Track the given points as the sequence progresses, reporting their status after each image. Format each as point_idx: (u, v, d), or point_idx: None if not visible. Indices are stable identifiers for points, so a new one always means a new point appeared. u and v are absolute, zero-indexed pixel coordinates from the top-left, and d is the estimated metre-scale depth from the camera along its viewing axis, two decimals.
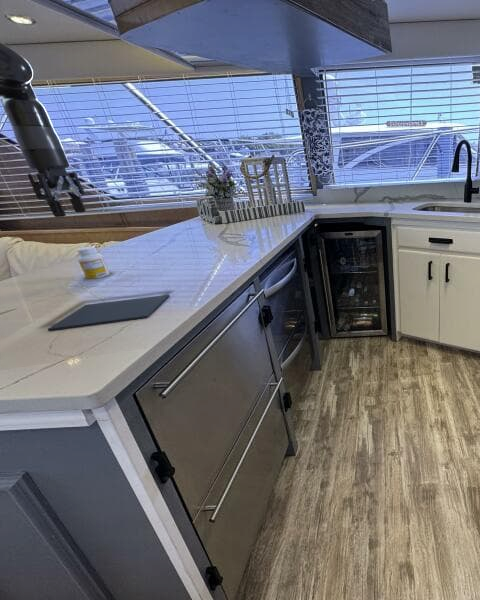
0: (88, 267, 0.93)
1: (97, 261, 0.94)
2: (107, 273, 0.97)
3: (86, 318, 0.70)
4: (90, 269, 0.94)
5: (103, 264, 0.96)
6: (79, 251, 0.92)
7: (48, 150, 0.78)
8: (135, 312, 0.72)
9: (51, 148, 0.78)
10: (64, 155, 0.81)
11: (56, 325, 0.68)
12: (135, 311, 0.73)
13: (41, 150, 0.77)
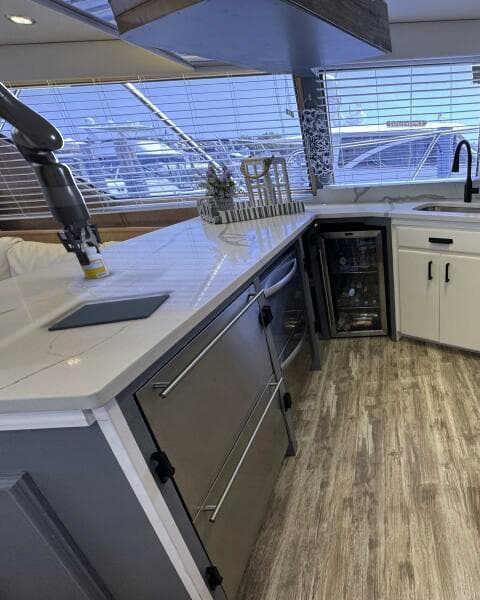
0: (88, 267, 0.93)
1: (97, 260, 0.94)
2: (107, 273, 0.97)
3: (86, 318, 0.70)
4: (90, 269, 0.94)
5: (103, 264, 0.96)
6: None
7: (72, 207, 0.87)
8: (135, 312, 0.72)
9: (75, 205, 0.88)
10: (86, 209, 0.91)
11: (56, 325, 0.68)
12: (135, 311, 0.73)
13: (66, 207, 0.86)
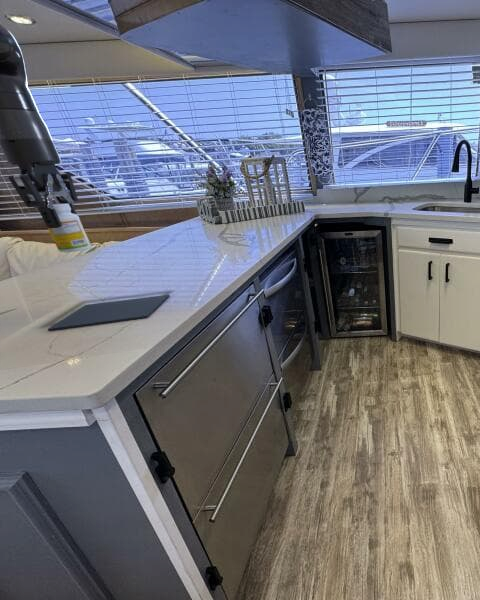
0: (59, 231, 0.67)
1: (72, 222, 0.68)
2: (86, 241, 0.71)
3: (86, 318, 0.70)
4: (61, 234, 0.68)
5: (80, 228, 0.70)
6: None
7: (33, 141, 0.61)
8: (135, 312, 0.72)
9: (36, 138, 0.61)
10: (53, 148, 0.65)
11: (56, 325, 0.68)
12: (135, 311, 0.73)
13: (23, 141, 0.60)
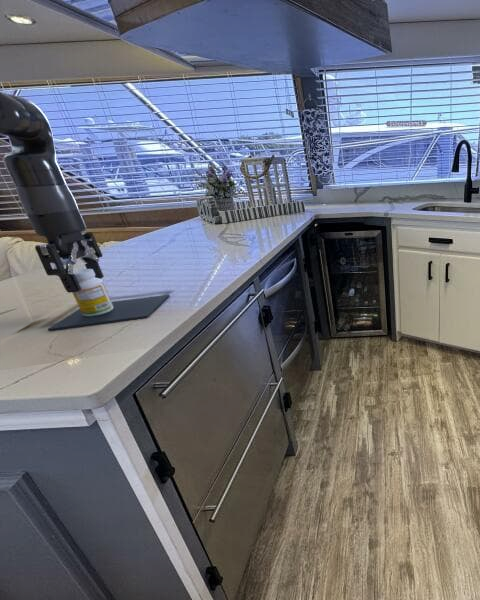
0: (83, 297, 0.69)
1: (96, 288, 0.70)
2: (109, 304, 0.73)
3: (86, 318, 0.70)
4: (86, 300, 0.69)
5: (104, 292, 0.72)
6: None
7: (60, 214, 0.63)
8: (135, 312, 0.72)
9: (64, 211, 0.63)
10: (79, 217, 0.66)
11: (56, 325, 0.68)
12: (135, 311, 0.73)
13: (52, 215, 0.62)
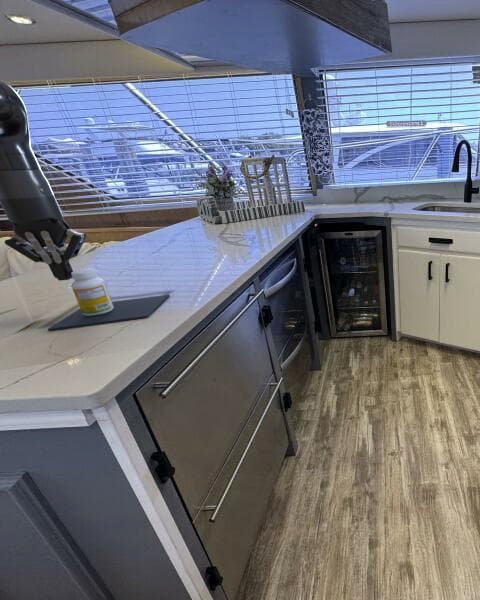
0: (84, 297, 0.69)
1: (98, 288, 0.70)
2: (110, 304, 0.73)
3: (86, 318, 0.70)
4: (87, 299, 0.69)
5: (105, 292, 0.72)
6: (74, 275, 0.68)
7: None
8: (135, 312, 0.72)
9: (0, 199, 0.59)
10: (18, 207, 0.60)
11: (56, 325, 0.68)
12: (135, 311, 0.73)
13: None
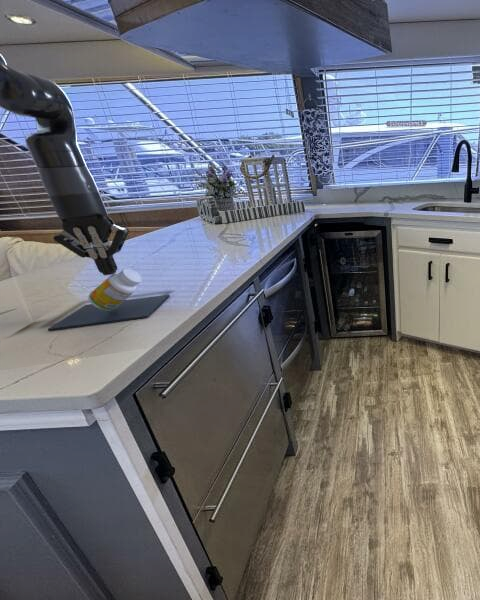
0: (109, 294, 0.70)
1: (127, 294, 0.72)
2: None
3: (86, 318, 0.70)
4: (108, 296, 0.70)
5: (126, 298, 0.73)
6: (123, 276, 0.70)
7: (50, 198, 0.61)
8: (135, 312, 0.72)
9: (50, 196, 0.61)
10: (68, 203, 0.62)
11: (56, 325, 0.68)
12: (135, 311, 0.73)
13: None
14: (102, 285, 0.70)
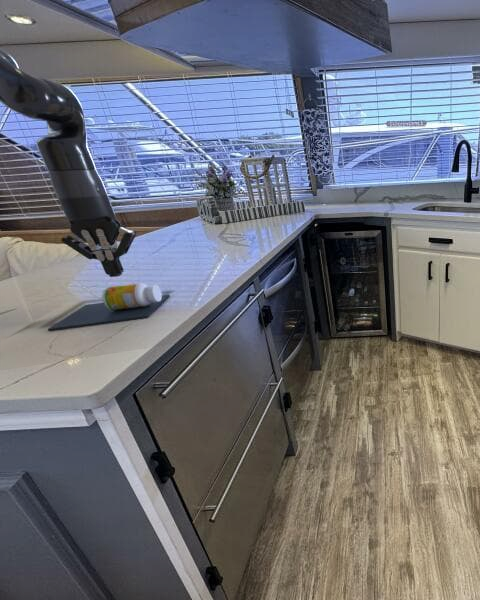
0: (126, 298, 0.72)
1: (138, 306, 0.74)
2: None
3: (86, 318, 0.70)
4: (123, 300, 0.72)
5: (134, 307, 0.75)
6: (150, 291, 0.73)
7: (59, 200, 0.62)
8: (135, 312, 0.72)
9: (60, 198, 0.62)
10: (77, 206, 0.62)
11: (56, 325, 0.68)
12: (135, 311, 0.73)
13: (59, 200, 0.63)
14: (125, 288, 0.72)
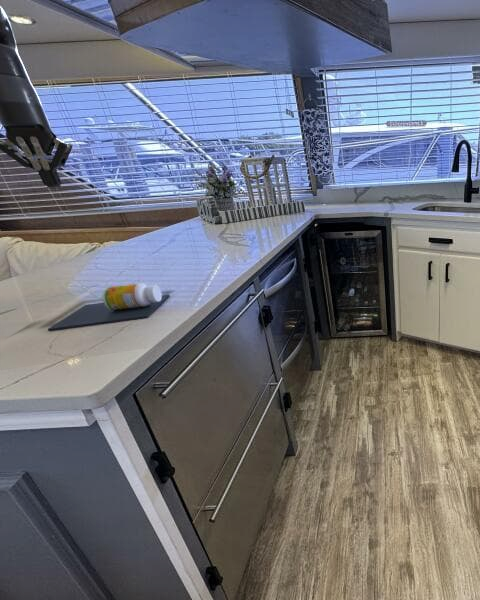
0: (126, 299, 0.72)
1: (138, 306, 0.74)
2: None
3: (86, 318, 0.70)
4: (123, 300, 0.72)
5: None
6: (150, 291, 0.73)
7: None
8: (135, 312, 0.72)
9: None
10: (9, 110, 0.67)
11: (56, 325, 0.68)
12: (135, 311, 0.73)
13: None
14: (125, 288, 0.72)
